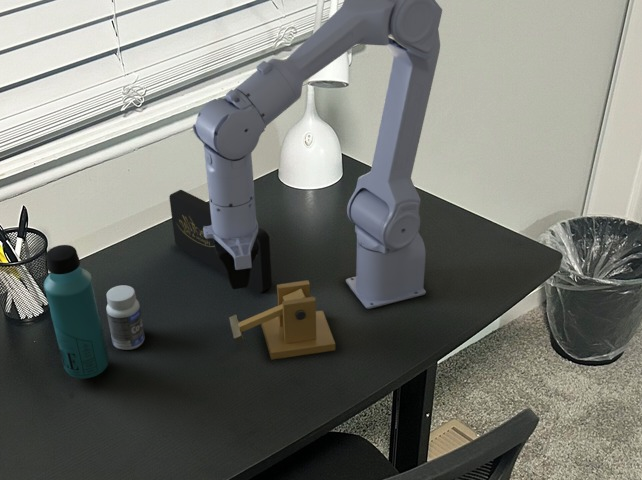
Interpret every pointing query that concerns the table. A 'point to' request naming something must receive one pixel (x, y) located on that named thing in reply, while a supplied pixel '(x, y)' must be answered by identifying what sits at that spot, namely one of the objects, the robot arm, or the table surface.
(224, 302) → the table surface
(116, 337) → the pill bottle
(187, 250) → the nameplate
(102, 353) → the beverage bottle
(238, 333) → the handle
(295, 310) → the wooden lever stand
